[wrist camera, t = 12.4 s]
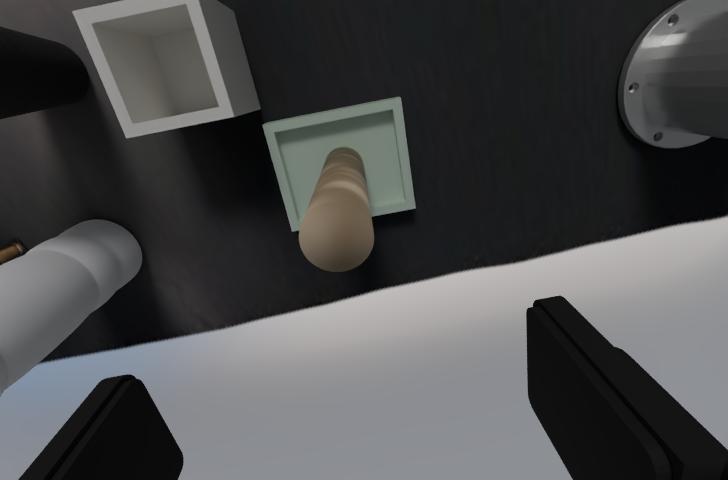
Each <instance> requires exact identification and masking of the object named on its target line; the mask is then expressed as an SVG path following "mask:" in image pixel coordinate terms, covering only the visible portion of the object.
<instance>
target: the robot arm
mask: <svg viewBox="0 0 728 480" xmlns="http://www.w3.org/2000/svg"><path fill="white" fill-rule="evenodd" d="M618 107H619V110H620V114H621V118H622V120H623V122H624V124H625V126H626V128H627V129H628V130H629V131H630V132H631V133H632V134H633V136H634V137H636V138H637V139H639V140H640V141H642V142H644V143H647V144H649V145H652V146H657V147H662V148H682V147H688V146H692V145H695V144H697V143H700V142H703V141H705V140H707V139H709V138H711V137H717V138H724V139H728V0H682V1H680V2H678V3H676V4H675V5H673V6H671V7H670V8H668V9H667V10H665V11H664V12H662V13H661V14H660V15H659V16H658V17H657V18H655V19H654V20H653V21H652V22H651V23H650V24H649V25H648V26H647V28H646V29H645V30H644V31H643V32H642V33H641V34H640V36H639V37H638V39H637V40H636V42H635V43H634V45H633V47H632V48H631V50H630V52H629V54H628V56H627V58H626V60H625V63H624V65H623V69H622V72H621V75H620V79H619V86H618ZM526 316H527V371H528V397H529V401H530V404H531V406H532V408H533V410H534V412H535V414H536V416H537V417H538V419H539V421H540V423H541V424H542V426H543V428H544V430H545V431H546V433H547V435H548V437H549V438H550V440H551V442H552V444H553V445H554V447H555V449H556V451H557V452H558V454H559V456H560V458H561V459H562V461H563V463H564V465H565V466H566V468H567V470H568V472H569V474H570V475H571V477H572V479H573V480H728V450H727V449H726V448H725V447H724V446H723V445H722V444H721V443H720V442H719V441H718V440H716V438H714V437H713V436H712V435H711V434H710V433H709V432H708V431H707V430H706V429H705V428H704V427H703V426H702V425H701V424H700V423H699V422H698V421H697V420H696V419H695V418H694V417H693V416H692V415H691V414H689V412H688V411H686V410H685V409H684V408H683V407H682V406H681V405H680V404H679V403H678V402H677V401H676V400H675V399H674V398H673V397H672V396H671V395H670V394H669V393H668V392H667V391H666V390H665V389H663V388H662V386H661V385H659V384H658V383H657V382H656V381H655V380H654V379H653V378H652V377H651V376H650V375H649V374H648V373H647V372H646V371H645V370H644V369H643V368H642V367H641V366H640V365H639V364H638V363H636V362H635V360H634V359H632V358H631V357H630V356H629V355H628V354H627V353H626V352H624V351H623V350H622V349H619V348H617V347H614V346H613V345H612V344H611V343H609V341H608V340H606V339H605V338H604V337H603V336H602V335H601V334H600V333H599V332H598V331H597V330H596V329H595V328H594V327H593V326H592V325H591V324H590V323H589V322H588V321H587V320H586V319H585V318H584V317H583V316H582V315H581V314H580V313H579V312H578V311H577V310H576V309H575V308H574V307H573V306H572V305H571V304H570V303H569V302H568V301H567V300H566V299H565V298H564V297H562V296H555V297H550V298H545V299H539V300H535V301H534V303H533V307H531V308H528V309H527V315H526ZM182 467H183V455H182V452H181V450H180V448H179V446H178V445H177V443H176V441H175V439H174V437H173V436H172V434H171V432H170V430H169V428H168V427H167V425H166V423H165V421H164V420H163V418H162V416H161V414H160V412H159V411H158V409H157V407H156V405H155V403H154V402H153V400H152V398H151V396H150V394H149V393H148V391H147V389H146V387H145V386H144V384H143V382H142V381H141V380H139V379H136V378H135V377H134V376H132V375H122V376H117V377H111V378H106V379H104V380H102V381H101V382H99V383H98V385H97V386H96V387H95V388H94V389H93V391H92V392H91V393H90V394H89V395H88V397H87V398H86V399H85V400H84V401H83V403H82V404H81V405H80V406H79V408H78V409H77V410H76V411H75V412H74V413H73V415H72V416H71V417H70V418H69V420H68V421H67V422H66V423H65V424H64V425H63V427H62V428H61V429H60V430H59V432H58V433H57V434H56V435H55V436H54V437H53V439H52V440H51V441H50V442H49V443H48V445H47V446H46V447H45V448H44V450H43V451H42V452H41V453H40V455H39V456H38V457H37V458H36V459H35V460H34V462H33V463H32V464H31V465H30V466H29V468H28V469H27V470H26V471H25V472H24V474H23V475H22V476H21V477H20V478H19V480H178V478H179V475H180V473H181V470H182Z"/></svg>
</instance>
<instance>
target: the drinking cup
mask: <svg viewBox="0 0 728 480" xmlns="http://www.w3.org/2000/svg"><path fill="white" fill-rule="evenodd" d="M87 89H88V74H87V71H86V68H85V66H84V64H83V62H82V61H81V59H80V58H79V57H78V56H77V55H76V54H75V53H74V52H73V51H72V50H71V49H69V48H68V47H66V46H65V45H63V44H60V43H57V42H54V41H50V40H47V39H43V38H39V37H36V36H32V35H28V34H25V33H21V32H18V31H14V30H10V29H7V28H3V27H0V119H4V118H8V117H13V116H17V115H22V114H26V113H31V112H35V111H40V110H44V109H49V108H53V107H58V106H62V105H67V104H71V103H75V102H77V101H79V100H80V99H82V98H83V96H84V95H85V94H86V91H87Z"/></svg>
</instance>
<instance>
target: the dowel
mask: <svg viewBox="0 0 728 480" xmlns="http://www.w3.org/2000/svg"><path fill="white" fill-rule="evenodd" d="M299 242H300V246H301V249H302V251H303V253H304V255H305V256H306V258H307V259H308V260H309V261H310V262H311V263H313V264H314V265H315V266H317V267H319V268H321V269H324V270H327V271H332V272H342V271H347V270H351V269H353V268H355V267H357V266H359V265H360V264H361V263H363V262H364V261H365V260H366V258H367V257H368V256H369V254H370V252H371V250H372V248H373V244H374V231H373V224H372V218H371V211H370V204H369V197H368V191H367V184H366V177H365V171H364V164H363V160H362V157H361V156H360V154H359V153H358V152H357V151H356V150H354V149H353V148H350V147H338V148H335V149H334V150H332V151H331V152H330V153H329V154H328V156H327V158H326V160H325V163H324V166H323V168H322V171H321V174H320V176H319V179H318V182H317V184H316V187H315V189H314V192H313V195H312V197H311V200H310V203H309V205H308V208H307V211H306V213H305V216H304V218H303V221H302V224H301V226H300V230H299Z"/></svg>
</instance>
